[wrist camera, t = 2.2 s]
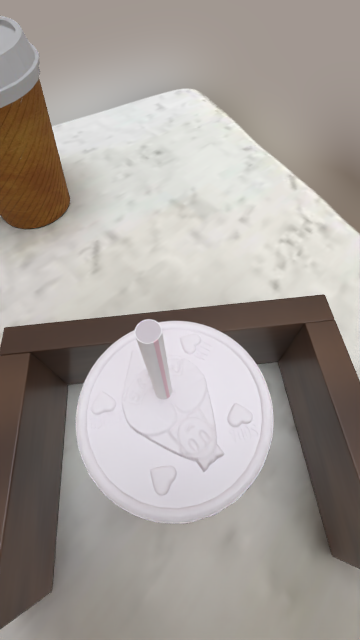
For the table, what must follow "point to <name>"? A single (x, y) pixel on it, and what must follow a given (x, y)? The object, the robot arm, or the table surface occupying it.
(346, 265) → the table surface
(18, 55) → the disposable coffee cup
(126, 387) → the smoothie
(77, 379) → the frame
